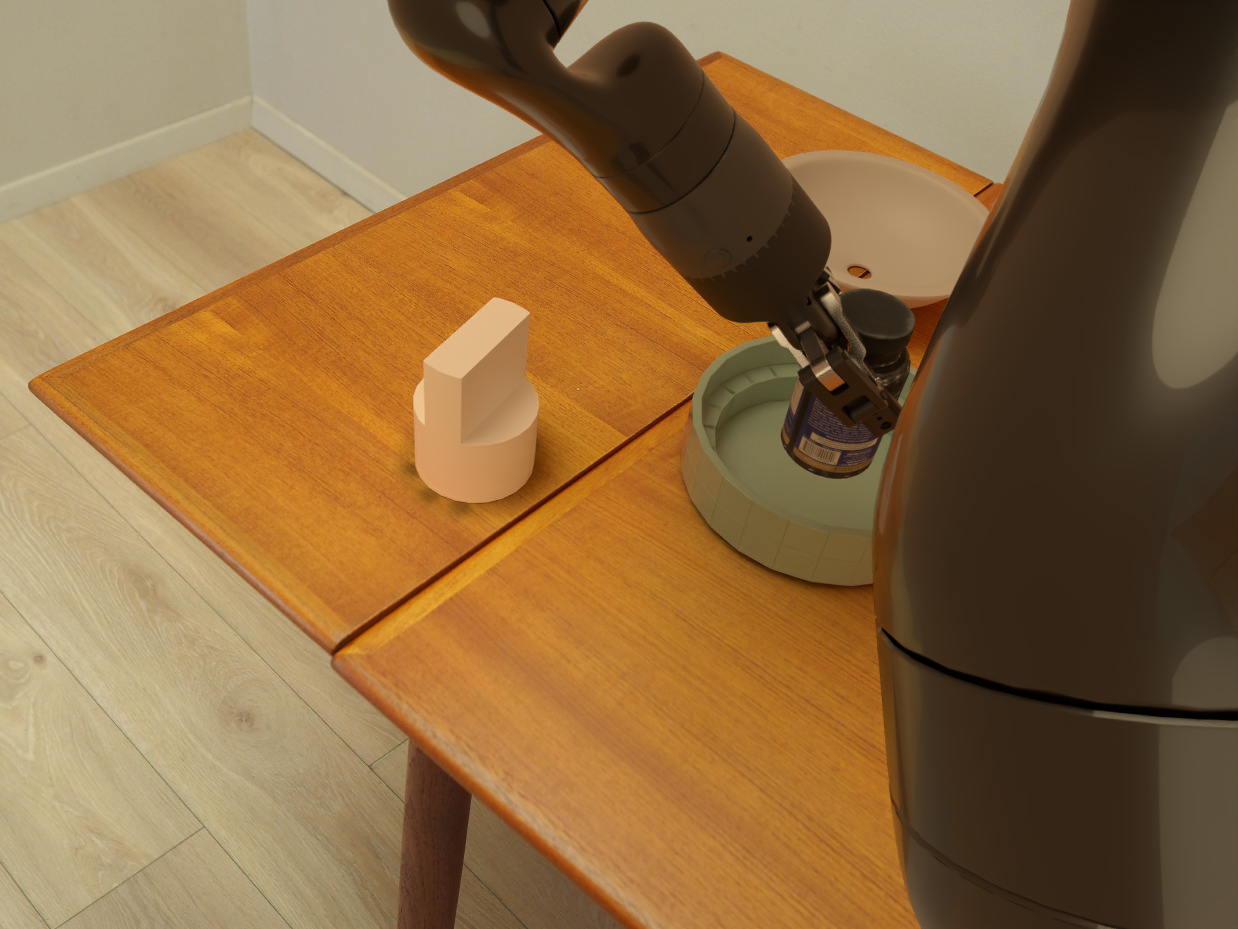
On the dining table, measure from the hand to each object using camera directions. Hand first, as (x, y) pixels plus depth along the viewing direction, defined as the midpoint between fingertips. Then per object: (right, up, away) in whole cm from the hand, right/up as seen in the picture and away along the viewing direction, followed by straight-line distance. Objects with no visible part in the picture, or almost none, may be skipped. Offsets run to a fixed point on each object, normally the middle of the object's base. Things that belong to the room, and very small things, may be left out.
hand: (874, 386), depth 64 cm
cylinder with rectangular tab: (-27, -4, +16) cm, 31 cm away
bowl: (0, -6, +18) cm, 19 cm away
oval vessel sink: (+8, +14, +39) cm, 42 cm away
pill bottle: (-2, -4, +4) cm, 6 cm away
